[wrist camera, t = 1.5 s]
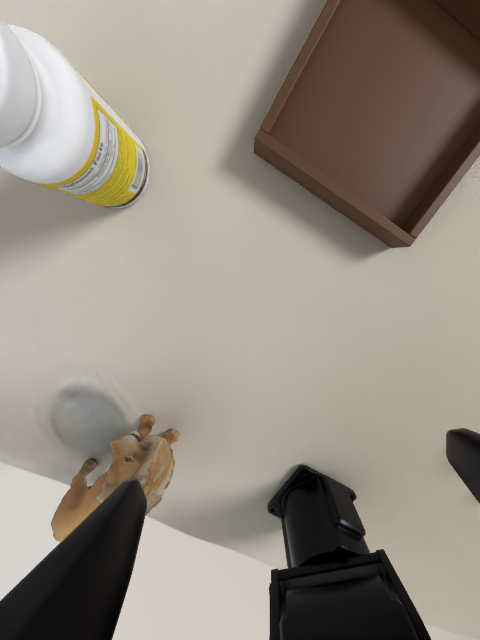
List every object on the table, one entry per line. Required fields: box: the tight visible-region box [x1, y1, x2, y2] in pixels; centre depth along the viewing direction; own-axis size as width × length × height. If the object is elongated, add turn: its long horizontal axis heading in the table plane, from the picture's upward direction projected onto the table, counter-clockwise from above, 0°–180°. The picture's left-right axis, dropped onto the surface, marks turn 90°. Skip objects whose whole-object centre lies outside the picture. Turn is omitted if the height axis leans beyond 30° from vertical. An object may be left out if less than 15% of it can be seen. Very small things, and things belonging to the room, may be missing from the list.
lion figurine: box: [51, 415, 178, 542], centre depth 18 cm, size 15×5×9 cm, turn 138°
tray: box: [254, 0, 480, 248], centre depth 14 cm, size 12×12×2 cm
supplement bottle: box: [0, 19, 150, 208], centre depth 12 cm, size 5×5×10 cm
